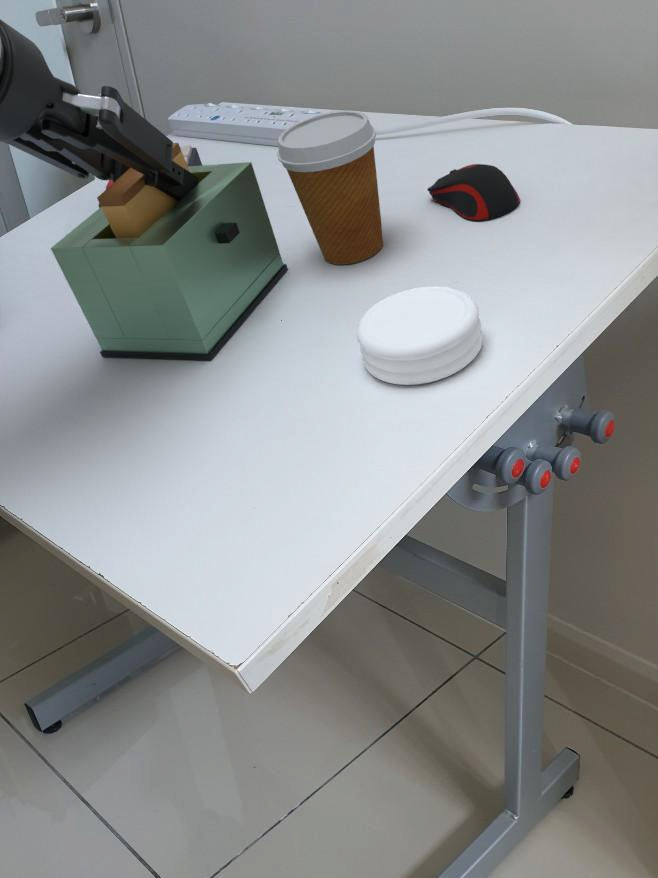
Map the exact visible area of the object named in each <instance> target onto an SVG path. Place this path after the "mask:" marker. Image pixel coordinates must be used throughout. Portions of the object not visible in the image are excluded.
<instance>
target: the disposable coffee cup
mask: <svg viewBox="0 0 658 878" xmlns="http://www.w3.org/2000/svg"><path fill="white" fill-rule="evenodd" d="M376 136H377V130H376V128H375V127H374V126H373V125H372V124H371V122H370V120H369V117H368V115H366V114H365V113H364V112H362V111H357V110H338V111H337V110H336V111H330V112H325V113H321V114H316V115H313V116H310V117H308V118H305V119H302V120H300V121H298V122H295V123H294V124H292V125H290V126H289V127H287V128H286V129H284V131H282V132H281V133H280V134H279V136H278V138H277V144H278V151H277V153H276V156H277V160H278V161H279V162H280V163H281V164H282V167H283V168H285V169H286V171H287V174H288V176H289V178H290V181H291V183H292V186H293V188H294V190H295V193H296V195H297V198H298V200H299V203H300V204H301V207H302V209H303V211H304V214H305V217H306V219H307V221H308V223H309V226H310V228H311V231H312V233H313V235H314V238H315V240H316V243H317V244H318V247H319V250H320V252H321V254H322V256H323V260H324V261H325V262H326V263H328V264H331V265H332V264H333V265H339V266H340V265H341V266H342V265H352V264H356V263H358V262H362V261H366V260H367V259H370V258H371V257H374V256H375V255H376V254H377V253H379V252H380V251H381V250H382V248H383V247H384V237H383V235H384V234H383V228H382V227H383V226H382V225H383V224H382V216H381V207H380V206H381V205H380V196H379V195H380V194H379V188H378V187H379V185H378V177H377V176H378V175H377V166H376V165H377V164H376V157H375V156H376V155H375V144H376V141H375V139H376Z"/></svg>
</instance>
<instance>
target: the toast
mask: <svg viewBox="0 0 658 878" xmlns="http://www.w3.org/2000/svg"><path fill="white" fill-rule="evenodd" d="M180 147H181V146H180V144H179V143H178V142H173V148H172V161H174V162H175V163H177V164H178V165H180V166H181V167H183V168H184V169H186V170H187V171H189V169H188V166H187V163H186V161H185V158H184V156H183V153H182V151H181V149H180ZM189 172H190V171H189ZM143 177H144V174H142V173H140V172H138V171H136V170H134V169H132V168H129V169H128V170H127V171H126V172H125V173H124V174H123V175H122V176H121V177H120V178H118V179H117V180H116V181H115V182H114V183H113V184H112V185H111V186H110V187H108V188H107V189H106V188H105V190H104V191H103V192H102V193H101V194H99V196H97V197H96V199H97V201H98V204H99V203H100V205H101V208H102V210H103V212H104V214H105V216H106V218H107V220H108V223H109V225H110V227H111V229H112V231H113V233H114V235H115V237H116V239H117V238H139V237H140V236H141V235H142V234H143V233H144V232H145V231H147V230H148V229H149V228H150V227H151V226H152V225H153V224H154V223H155V222H157V221H158V220H159V219H160V218H161V217H162V216H163V215H164V214H165V213H167V212H168V211H169V210H170V209H171V208H172V207H173V206H174V205H175V204H177V203H178V202H179V201H177V200H176V199H174V198H172V197H171V196H169V195H167V194H165V193H164V192H162V191H160V190H159V189H157V188H155V187H154V186H148V185H145V181H144V180H143Z"/></svg>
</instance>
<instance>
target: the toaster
mask: <svg viewBox="0 0 658 878" xmlns="http://www.w3.org/2000/svg"><path fill="white" fill-rule="evenodd" d="M188 169H189V171H190V173H192V174H194V175H195V176H197V177H198V185H196V186H195V187H194V188H193V189H192V190H191V191H190V192H189V193H188V194H186V195H185V196H184V197H183V198H182V199H181V200H180V201H179V202H178V203H177V204H175V205H174V206H173V207H172V208H171V209H170V210H169V211H168V212H167V213H165V214H164V215H163V216H162V217H161V218H160V219H159V220H158V221H157V222H155V223H154V224H153V225H152V226H151V227H150V228H149V229H148V230H147V231H145V232H144V233H143V234H142V235H141V236H140V237H139V238H117V239H116V237H115V235H114V233H113V231H112V229H111V227H110V225H109V223H108V220H107V218H106V216H105V214H104V212H103V210H102V208H101V207H100V208H99V207H98V209H97V210H95V211H94V212H93V213H91V214H90V215H89V216H88V217H86V219H84V220H83V221H82V222H80V223H79V224H78V225H77V226H75V228H73V229H72V230H70V232H69V233H67V234H66V235H65V236H63V237H62V238H61V239H60V240H58V242H56V243H55V244H54V245H52V246H51V247H50V250H51V252H52V254H53V256H54V258H55V260H56V262H57V264H58V266H59V268H60V270H61V272H62V274H63V277H64V278H65V280H66V281H67V284H68V286H69V288H70V290H71V292H72V294H73V295H74V298H75V300H76V301H77V303H78V305H79V307H80V310H81V311H82V313H83V315H84V317H85V320H86V321H87V324H88V325H89V327H90V329H91V332H92V333H93V335H94V337H95V338H96V340H97V343H98V345H99V347H100V349H101V350H100V351H99V354H100V356H101V357H102V358H117V359H118V358H119V359H145V360H146V359H149V360H172V361H173V360H174V361H175V360H177V361H178V360H179V361H202V362H203V361H205V362H211V361H212V360H213V359H214V357H216V355H217V354H218V353H219V352H220V351H221V349H222V348H223V347H224V346H225V345H226V344H227V342H229V340H230V339H231V338H232V337H233V335H234V334H235V333H236V332H237V330H238V329H239V328H240V327H241V326H242V324H244V322H245V321H246V320H247V319H248V317H250V315H251V314H252V313H253V311H255V309H256V308H257V307H258V306H259V304H260V303H262V301H263V300H264V299H265V298H266V296H267V295H268V294H269V293H270V291H271V290H272V289H273V288H274V287H275V285H276V284H278V282H279V281H280V279H281V278H282V277H283V276H284V274H286V272H287V271H288V270H289V267H288V265H287V263H284V262H283V258H282V255H281V253H280V249H279V245H278V242H277V239H276V236H275V233H274V229H273V226H272V223H271V221H270V216H269V214H268V211H267V207H266V204H265V201H264V198H263V195H262V191H261V188H260V185H259V181H258V179H257V176H256V173H255V170H254V167H253V163H252V162H251V161H247V162H234V163H221V164H220V163H218V164H202V166H188Z"/></svg>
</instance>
